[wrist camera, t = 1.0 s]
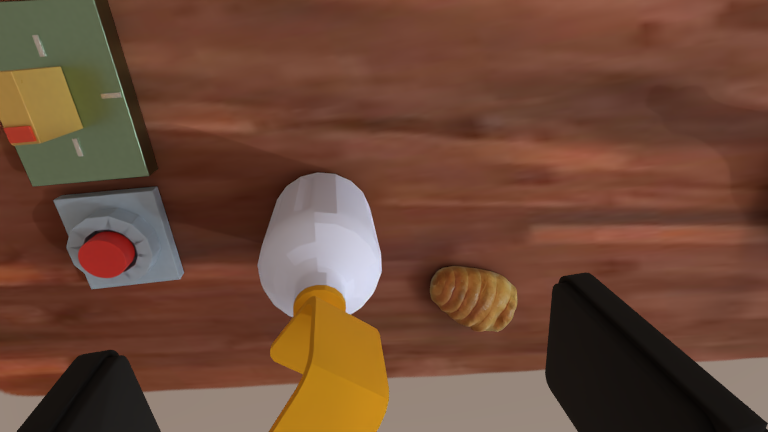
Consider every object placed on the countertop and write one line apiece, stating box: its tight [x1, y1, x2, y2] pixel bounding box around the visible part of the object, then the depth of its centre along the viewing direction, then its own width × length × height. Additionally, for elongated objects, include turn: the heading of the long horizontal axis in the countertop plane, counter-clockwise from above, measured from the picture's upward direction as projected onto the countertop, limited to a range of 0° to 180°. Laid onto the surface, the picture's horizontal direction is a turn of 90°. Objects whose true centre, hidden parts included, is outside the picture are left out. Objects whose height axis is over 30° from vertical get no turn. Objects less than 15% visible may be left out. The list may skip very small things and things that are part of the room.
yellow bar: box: [0, 66, 83, 146], centre depth 27 cm, size 4×2×5 cm, turn 3°
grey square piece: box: [54, 187, 184, 289], centre depth 35 cm, size 9×8×3 cm
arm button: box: [78, 231, 135, 278], centre depth 33 cm, size 4×4×2 cm
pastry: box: [430, 266, 517, 332], centre depth 42 cm, size 9×7×4 cm
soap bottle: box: [258, 172, 389, 432], centre depth 27 cm, size 9×9×25 cm
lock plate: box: [0, 0, 158, 186], centre depth 30 cm, size 13×9×2 cm
